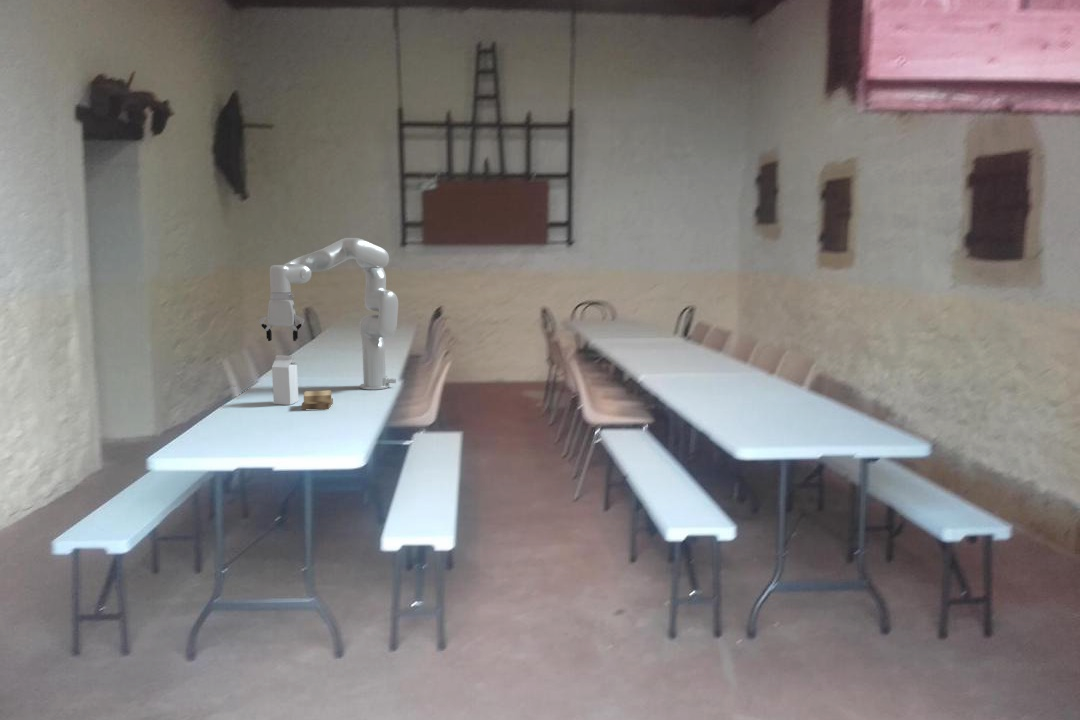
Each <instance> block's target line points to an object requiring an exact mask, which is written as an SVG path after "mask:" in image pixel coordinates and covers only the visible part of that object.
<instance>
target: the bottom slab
mask: <svg viewBox="0 0 1080 720" xmlns="http://www.w3.org/2000/svg"><path fill="white" fill-rule="evenodd" d="M332 404H333V405H334V399H333V397H331V403H317V404H304V401H303V402H302V403H301V411H307V410H306V409H329V408H330V407H331V408H332V406H333V405H332ZM331 405H332V406H331ZM331 408H330V409H331ZM330 409H329V410H330Z"/></svg>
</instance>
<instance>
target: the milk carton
mask: <svg viewBox="0 0 1080 720" xmlns="http://www.w3.org/2000/svg"><path fill="white" fill-rule="evenodd" d="M271 373H272V374H271V376H272V395H273V405H285V406H286V405H287V406H291V405H293V404H296V403H298V402H300V401H299V382H298V381H299V378H298V364H297V363H296V361H295V360H294V358H293V355H275V359H274V361H273V363H272V366H271Z"/></svg>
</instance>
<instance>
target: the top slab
mask: <svg viewBox="0 0 1080 720" xmlns="http://www.w3.org/2000/svg"><path fill="white" fill-rule="evenodd" d="M331 398H332V390H328V389H327V390H309V391H307V390H306V391H304V394H303V402H304V404H317V403H331Z"/></svg>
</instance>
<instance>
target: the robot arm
mask: <svg viewBox="0 0 1080 720" xmlns="http://www.w3.org/2000/svg"><path fill="white" fill-rule="evenodd" d="M351 259H352V260H355V261H356V264H357V265H358V266H359V267H360V268H361V269H362V270H363V272H364V275H365V291H364V307H365V308H366V309H367V310H368V311H371V312H376V313H377V312H378V314H371V313H370V314H366V315H364V316H363V317H361V319H360V321H359V326H358V327H359V333H360V338H361V346H362V347H361V348H362V350H361V351H362V371H363V372H362V374H363V375H362V376H363V383H361V384H360V385H359V388H360V389H362V390H370V391H373V390H374V391H377V390H383V389H388V388H390V386H391V385H390V384H397V379H396V378H388V375H386V374H387V373H386V371H387V370H386V346H385V341H384V339H389V338H392V337H393V336H394V335H395V334H396V331H397V328H398V327H397V326H398V315H399V298H398V296H397V294H396V293H395V292H394V291H392V290H389V289H387V275H386V271H385V270H384V268H385V267H387V266H388V264H389V262H390V255H389V253H388V251H387V250H385V249H384V248H383V247H381V246H379V245H377V244H374V243H371V241H367V240H365V239H362V238H359V237H345V238H341V239H339V240H337V241H335V242H333V243H331V244H329V245H326V247H323V248H321V249H318V250H315V251H313V252H311V253H310V252H309V253H308V254H303V255H301V256H299V257H296V258H294V259H291V260H289V261H288V262H286V263H284V264H273V265H271V266H270V268H269V281H270V285H269V286H270V287H269V288H270V300H269V301H268V308H267V315H265V316H263V317H262V318H259V320H258V322H259V324H260V325H261V327H262V328H263V329H264V331H265V332H266V340H267V341H268V342H270V341H272V338H273V337H272V330H271V328H273V327H290V328H291V329H293V331H292V340H293V342H296V341H297V340H298V339H299V333H298V331H299V329H300V328H301V327H303V325H304V323H305V318H302V317H300V316H298V315H297V314H296V307H295V303H294V300H292V299H293V298H295V295H296V294H294V293H292V291H291V290H292V289H291V288H292V287H291V284H305V283H307V282H309V281H310V280H311V278H312V273H315V272H323V271H328V270H330V269H332V268H335V267H336V266H338V265H340V264H342V263H344V262H347V260H351ZM266 320H267V324H268V325H267V324H266V323H265V321H266ZM297 321H299V323H298V325H297Z"/></svg>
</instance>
